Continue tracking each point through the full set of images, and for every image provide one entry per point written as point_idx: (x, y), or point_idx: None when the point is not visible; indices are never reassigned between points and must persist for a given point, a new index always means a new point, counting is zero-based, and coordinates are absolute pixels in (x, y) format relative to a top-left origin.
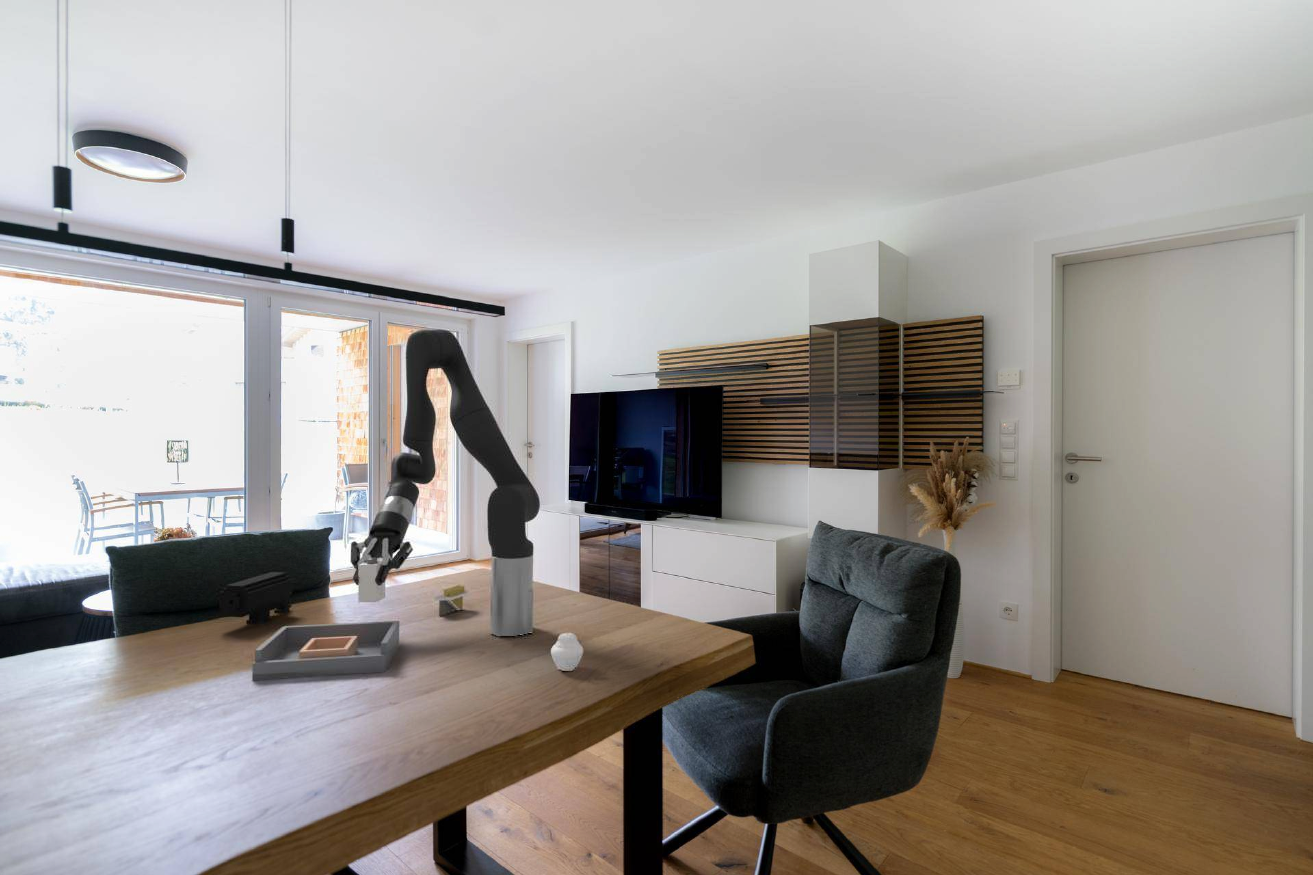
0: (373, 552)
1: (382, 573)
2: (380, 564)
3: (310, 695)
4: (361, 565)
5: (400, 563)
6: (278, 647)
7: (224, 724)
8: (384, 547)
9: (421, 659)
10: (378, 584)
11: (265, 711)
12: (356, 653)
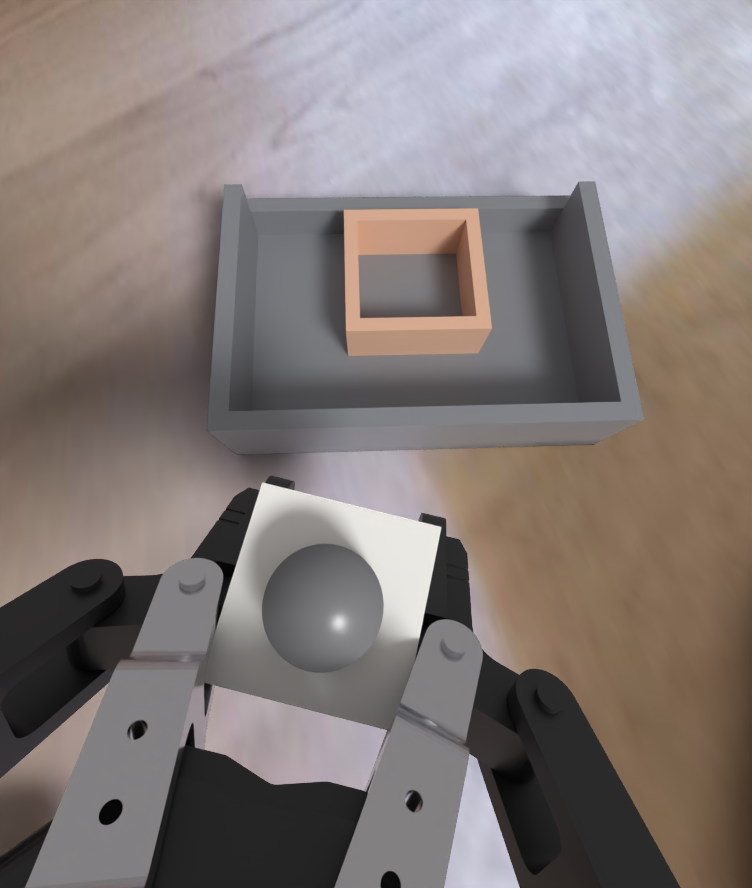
0: (329, 799)
1: (237, 525)
2: (239, 563)
3: (386, 132)
4: (409, 521)
5: (50, 659)
6: (582, 339)
7: (493, 44)
8: (127, 807)
9: (158, 307)
10: None
11: (445, 79)
12: (345, 334)
